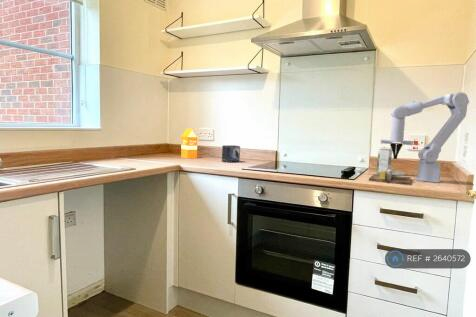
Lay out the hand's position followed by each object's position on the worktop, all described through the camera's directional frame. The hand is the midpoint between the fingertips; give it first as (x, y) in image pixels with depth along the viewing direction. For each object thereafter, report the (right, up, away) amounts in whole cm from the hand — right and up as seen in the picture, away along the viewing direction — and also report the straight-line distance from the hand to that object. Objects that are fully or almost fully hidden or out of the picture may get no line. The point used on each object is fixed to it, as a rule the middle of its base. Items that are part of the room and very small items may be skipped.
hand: (395, 158), depth 161 cm
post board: (-5, -10, -5) cm, 12 cm away
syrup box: (+2, -9, +17) cm, 19 cm away
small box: (-83, -2, +49) cm, 97 cm away
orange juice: (-113, +1, +65) cm, 130 cm away
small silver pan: (-6, -9, -6) cm, 13 cm away
